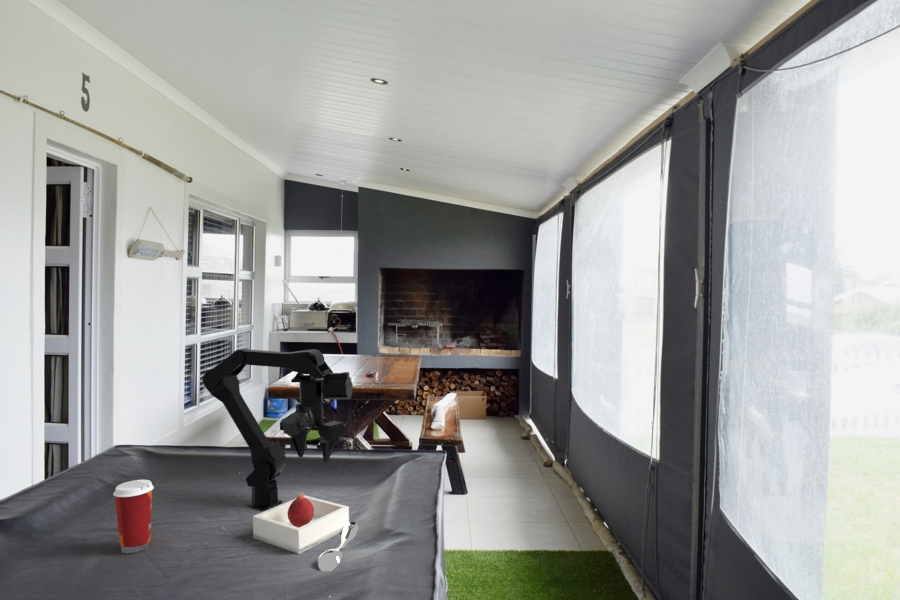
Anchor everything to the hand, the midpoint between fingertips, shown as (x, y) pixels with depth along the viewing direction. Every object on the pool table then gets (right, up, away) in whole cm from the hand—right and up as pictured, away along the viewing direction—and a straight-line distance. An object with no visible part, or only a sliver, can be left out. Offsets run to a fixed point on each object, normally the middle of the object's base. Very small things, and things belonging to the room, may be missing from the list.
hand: (313, 459), depth 144 cm
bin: (+1, -12, -16) cm, 20 cm away
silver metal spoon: (+12, -13, -24) cm, 30 cm away
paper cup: (-33, -13, -22) cm, 42 cm away
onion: (+1, -11, -16) cm, 20 cm away
